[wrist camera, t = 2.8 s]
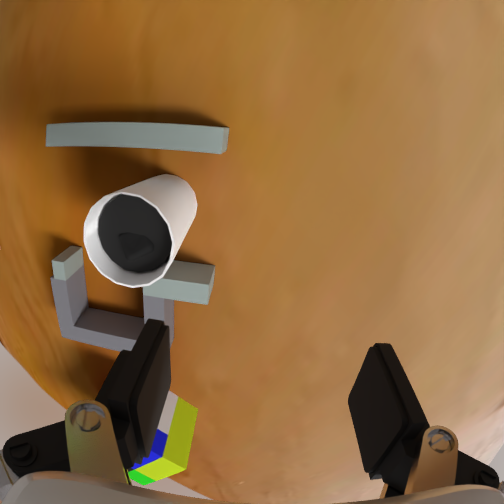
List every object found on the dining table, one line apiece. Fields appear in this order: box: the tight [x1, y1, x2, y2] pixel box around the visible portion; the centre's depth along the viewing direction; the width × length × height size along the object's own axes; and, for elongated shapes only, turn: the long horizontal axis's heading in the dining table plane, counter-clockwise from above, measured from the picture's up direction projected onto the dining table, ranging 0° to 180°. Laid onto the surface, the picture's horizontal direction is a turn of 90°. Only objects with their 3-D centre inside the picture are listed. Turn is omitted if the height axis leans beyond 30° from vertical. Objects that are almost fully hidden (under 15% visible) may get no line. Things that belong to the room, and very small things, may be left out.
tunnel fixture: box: [46, 122, 229, 351], centre depth 28 cm, size 30×22×5 cm
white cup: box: [84, 174, 197, 288], centre depth 25 cm, size 7×7×10 cm
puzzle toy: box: [127, 391, 198, 485], centre depth 35 cm, size 10×10×10 cm
